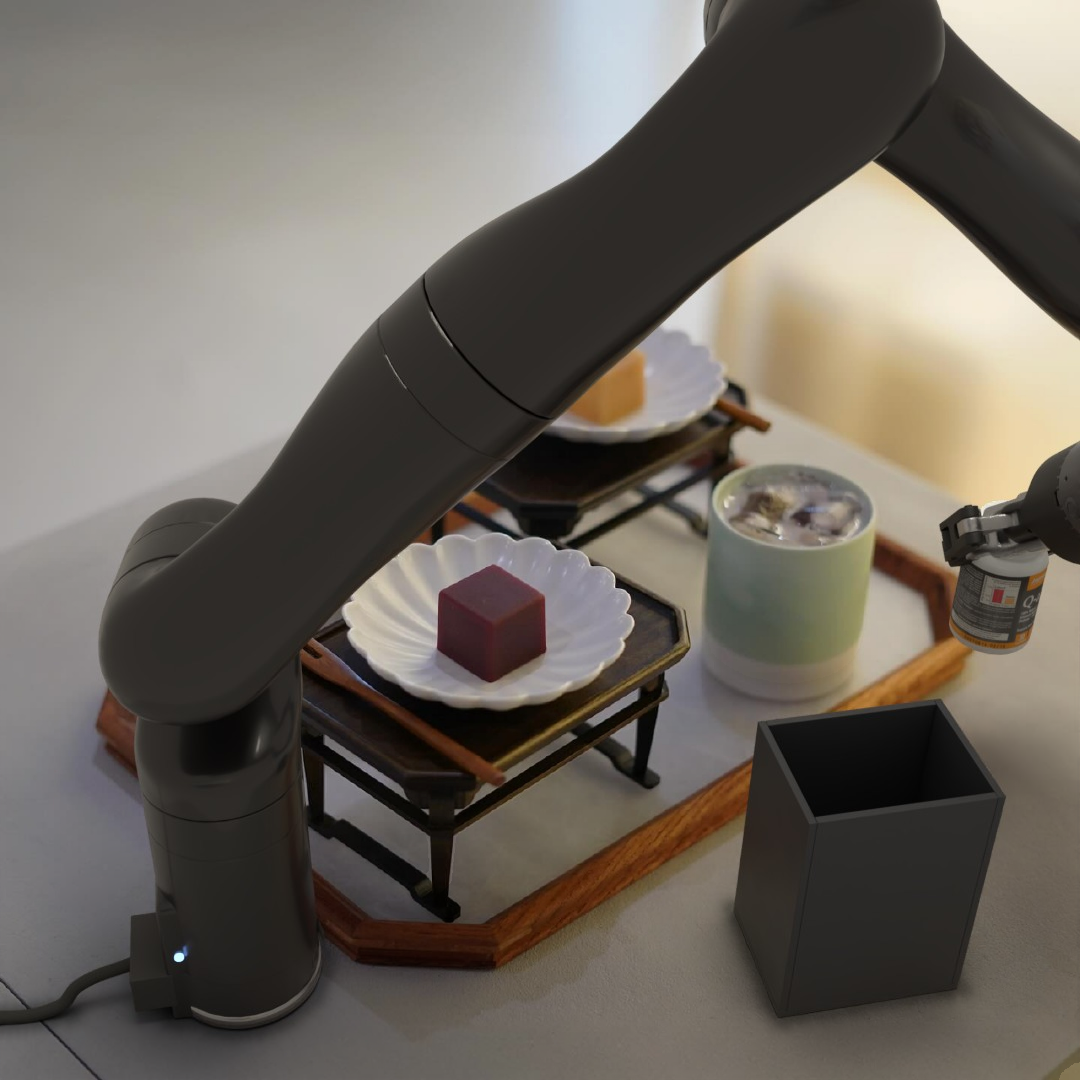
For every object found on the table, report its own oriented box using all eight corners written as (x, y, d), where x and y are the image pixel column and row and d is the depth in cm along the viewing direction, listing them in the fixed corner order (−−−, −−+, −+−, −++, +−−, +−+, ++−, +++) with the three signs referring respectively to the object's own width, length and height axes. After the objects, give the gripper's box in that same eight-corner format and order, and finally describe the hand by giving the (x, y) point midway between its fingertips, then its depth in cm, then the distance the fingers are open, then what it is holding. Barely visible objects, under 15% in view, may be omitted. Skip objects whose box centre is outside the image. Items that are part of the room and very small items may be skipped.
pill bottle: (1031, 663, 106) (1061, 545, 101) (947, 652, 107) (973, 533, 101) (1026, 617, 111) (1055, 501, 105) (946, 606, 112) (970, 490, 106)
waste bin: (778, 1018, 94) (809, 824, 85) (733, 910, 101) (757, 721, 92) (957, 988, 96) (1006, 796, 87) (901, 885, 104) (940, 697, 95)
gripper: (1214, 421, 93) (1075, 488, 109) (997, 440, 90) (888, 505, 106) (1241, 541, 91) (1096, 590, 108) (1020, 563, 89) (906, 610, 105)
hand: (993, 548), depth 107 cm, fingers closed on pill bottle, 5 cm apart
